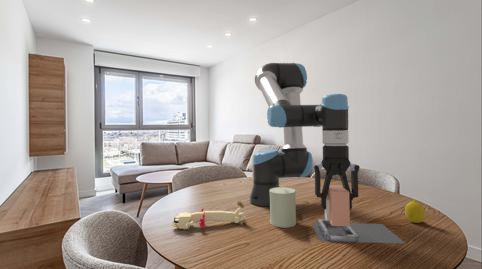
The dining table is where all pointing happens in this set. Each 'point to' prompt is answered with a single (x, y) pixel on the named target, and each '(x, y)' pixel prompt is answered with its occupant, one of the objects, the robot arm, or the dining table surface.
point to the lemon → (414, 212)
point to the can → (282, 207)
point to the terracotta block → (338, 206)
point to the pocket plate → (355, 233)
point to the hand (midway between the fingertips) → (336, 219)
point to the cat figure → (208, 217)
